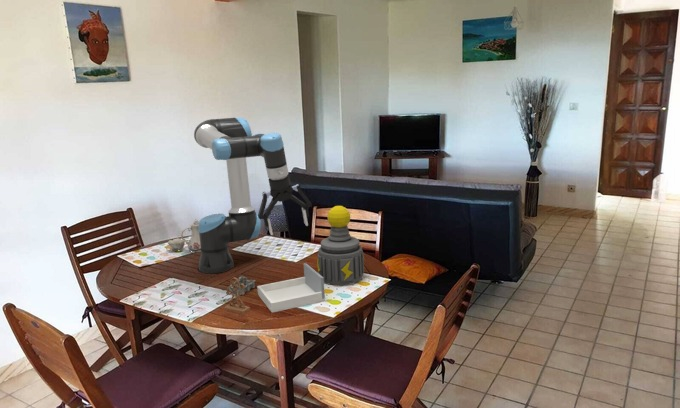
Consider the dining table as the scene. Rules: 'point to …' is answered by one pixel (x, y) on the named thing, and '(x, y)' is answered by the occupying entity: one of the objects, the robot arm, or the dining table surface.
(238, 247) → the dining table surface
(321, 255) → the decorative lamp
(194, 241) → the chinaware
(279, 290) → the holder tray
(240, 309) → the brown openwork figurine
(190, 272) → the dining table surface
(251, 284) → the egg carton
